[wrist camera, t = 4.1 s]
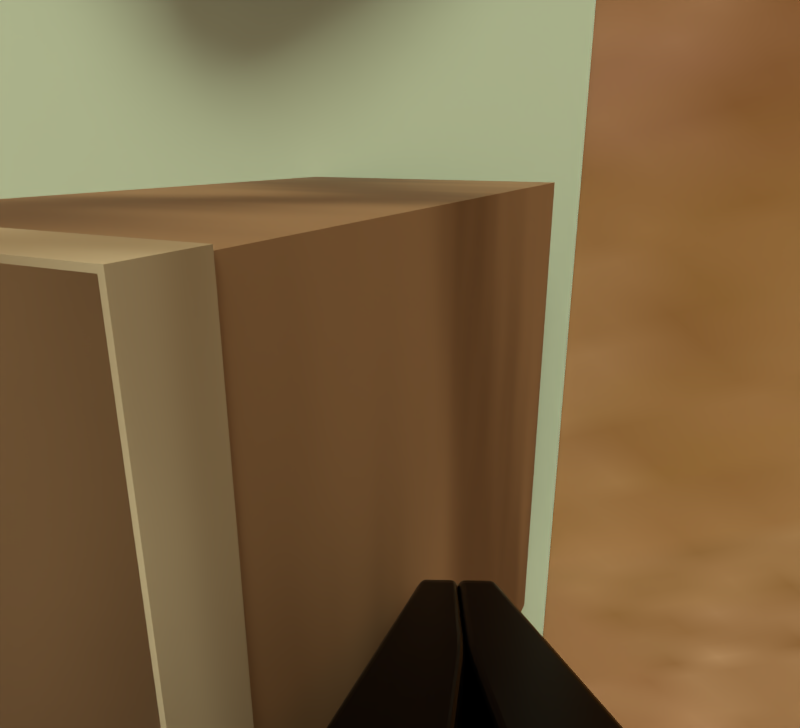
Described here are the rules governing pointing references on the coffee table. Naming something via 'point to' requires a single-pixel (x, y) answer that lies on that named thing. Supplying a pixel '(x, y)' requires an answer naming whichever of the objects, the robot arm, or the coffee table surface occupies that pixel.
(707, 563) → the coffee table surface
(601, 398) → the coffee table surface
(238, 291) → the walnut block
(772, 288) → the coffee table surface
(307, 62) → the mat
